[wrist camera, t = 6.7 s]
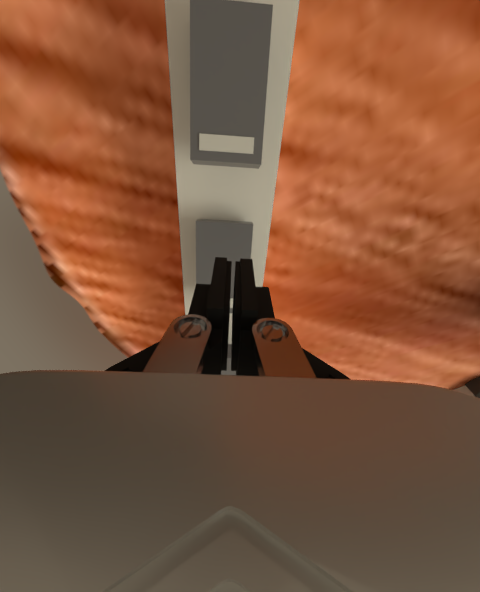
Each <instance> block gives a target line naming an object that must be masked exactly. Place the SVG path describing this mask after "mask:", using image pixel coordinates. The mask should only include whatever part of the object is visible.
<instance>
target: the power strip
mask: <svg viewBox="0 0 480 592" xmlns="http://www.w3.org/2000/svg"><path fill="white" fill-rule="evenodd" d="M232 1H242V2H252V3H261V4H271V5H273V12H272V25H271V39H270V52H269V66H268V80H267V93H266V107H265V121H264V134H263V148H262V161H261V166H260V167H259V169H256V168H242V167H227V166H212V165H198V164H193V163H192V161H191V160H190V0H165V12H166V27H167V43H168V58H169V73H170V89H171V104H172V119H173V135H174V150H175V165H176V181H177V196H178V211H179V227H180V242H181V257H182V273H183V288H184V303H185V315H188V313H189V309H190V305H191V302H192V298H193V294H194V290H195V286H196V220H197V219H211V220H229V221H246V222H252V223H253V235H252V248H251V259H252V261H253V269H254V278H255V286H256V287H263V279H264V271H265V263H266V256H267V248H268V240H269V232H270V225H271V217H272V209H273V201H274V194H275V186H276V178H277V170H278V163H279V155H280V147H281V139H282V132H283V124H284V116H285V108H286V101H287V93H288V85H289V77H290V70H291V62H292V54H293V47H294V39H295V31H296V23H297V16H298V8H299V0H232ZM228 344H232V313H230V317H229V335H228Z"/></svg>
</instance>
